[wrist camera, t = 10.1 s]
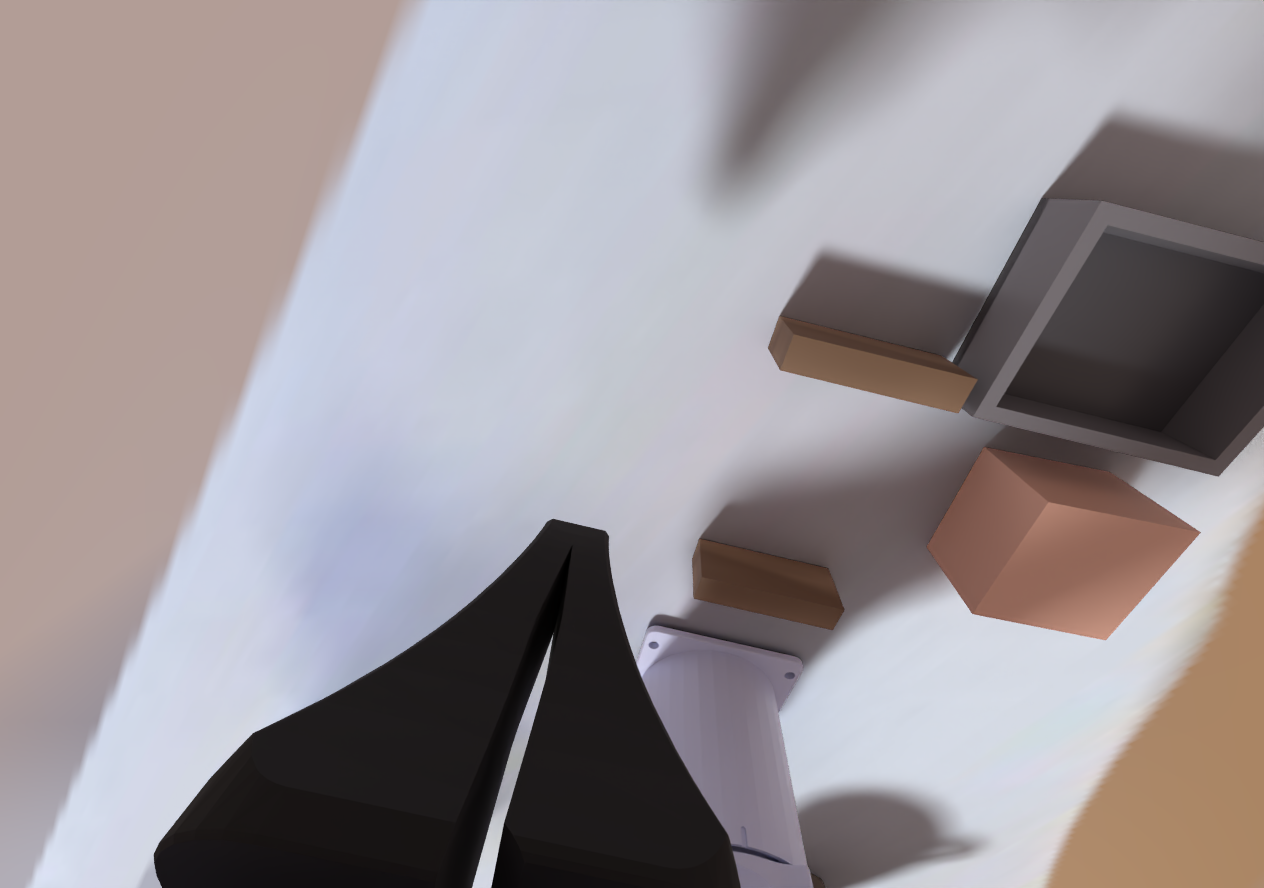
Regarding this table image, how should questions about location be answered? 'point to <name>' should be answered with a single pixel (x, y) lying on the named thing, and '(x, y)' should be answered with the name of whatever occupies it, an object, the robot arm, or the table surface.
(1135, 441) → the box
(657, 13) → the table surface
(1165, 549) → the terracotta block
